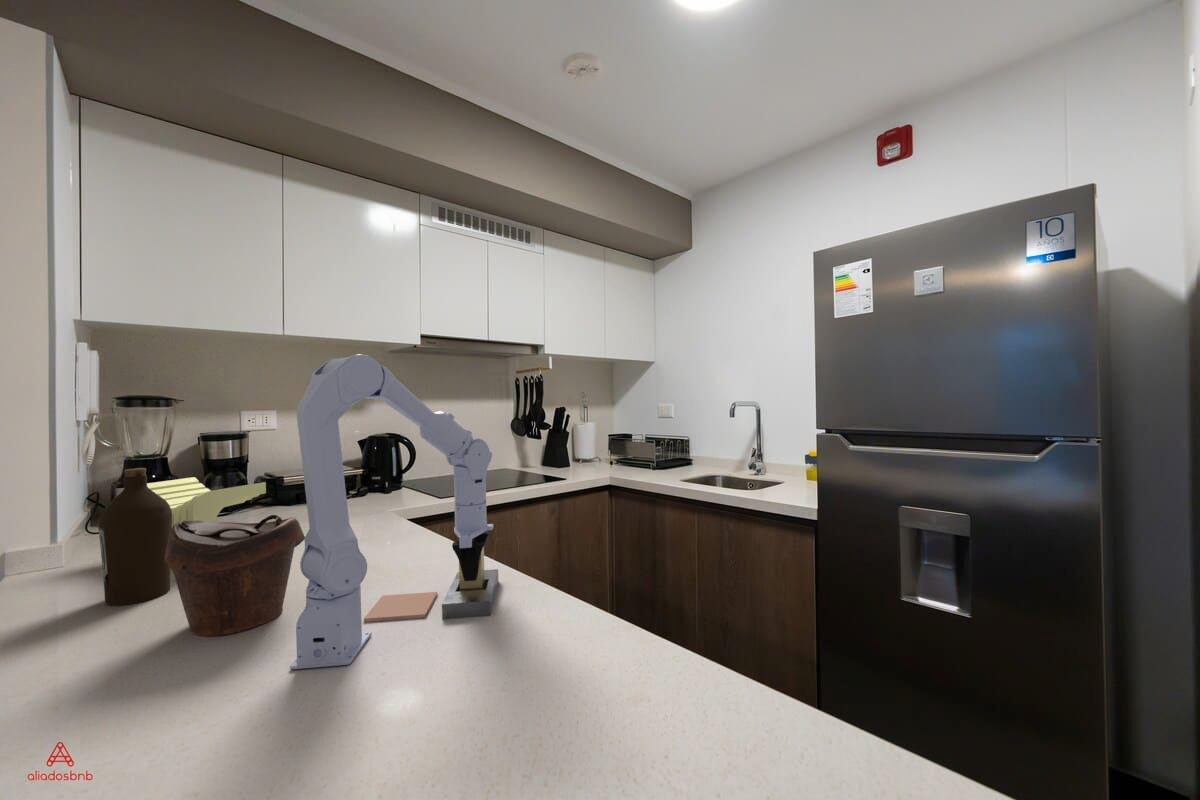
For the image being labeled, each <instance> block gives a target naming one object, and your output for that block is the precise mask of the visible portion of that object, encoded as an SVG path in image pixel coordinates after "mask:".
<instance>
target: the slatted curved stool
mask: <svg viewBox="0 0 1200 800" xmlns="http://www.w3.org/2000/svg"><path fill="white" fill-rule="evenodd" d="M266 485H267V483H266V481H264V482H263V481H262V482H258V483H251V484H245V485H238V486H232V487H231V486H230V487H226V488H221V489H220V488H219V489H214V490H211V489H209V487H206V486H205V485H204V484H203V483H201V482H200V481H199V479H197V478H196V477H194V476H193V477H185V478H177V479H172V480H171V479H170V480H163V481H156V482H147V487H148V488H149V489H150V490H152V491H153V492H155V493H156V494H157V495H159V496H160V497H162V498H163V499H164V500H166V501H167V502H168V504H169V506H170V508H171V511H172V527H173V526H174V525H175V524H176V523H177V522H180V521H185V520H196V521H209V522H217V517H218V516H219V514H220V512H222V510H223V509H224V508H226V507H230V506H234V505H238V504H243V503H246V501H249V500H252V499H253V498H257V497H259V496H260V495H264V494H267V486H266Z"/></svg>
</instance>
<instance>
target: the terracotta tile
mask: <svg viewBox="0 0 1200 800" xmlns="http://www.w3.org/2000/svg"><path fill="white" fill-rule="evenodd" d="M437 597H438V591H429V592H428V591H427V592H418V593H417V592H416V593H415V592H414V593H401V594H400V593H399V594H387V595H386V594H385V595H383V594H382V595H381V596H380V598H379V599H378V600H377V602H376V603H375V604H374V605H373V607H372V608H371V609H370V610H369V612H367V614H366V615H365V616H364V618H363V623H370V622H382V621H383V622H386V621H397V620H398V621H400V620H412V619H413V620H414V619H425V618H426V617H427V616H428V614H429V611H430V610H431V608H432V606H433V604H434V602H435V601H436V599H437Z"/></svg>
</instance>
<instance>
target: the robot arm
mask: <svg viewBox="0 0 1200 800" xmlns="http://www.w3.org/2000/svg"><path fill="white" fill-rule="evenodd" d="M364 399H369V400H376V401H381V402H384V403H385V404H386V405H388V406H389V407H390V408H393V410H395V411H397V412H398V413H399V414H401V415H402V416H404V417H405V418H406V419H408V420H410V421H411V422H412V423H414V424H415V425H416V426H418V427H419V434H420V437H421V438H422V439H423V440H424V441H426V442H427V443H428V444H430V445H431V446H432V447H434V448H435V449H436V450H438V451H439V452H441V454H443V455H444V456H445V457H446V461H447V463H448V464H449V465H450V466H453V489H454V490H453V491H454V493H453V494H454V499H453V500H454V527H453V531H454V532H453V533H454V534H455V535H456V536H457V538H458V541H453V543H452V546H451V547H452V550H453V552H454V553H455V555H456V557H457V559H458V563H459V562H460V566H461V570H462V574H463V578H464V581H476V579H477V575H478V568H479V560H480V555H481V552H482V549H483V547H484V548H485V544H486V540H487V539H488V536H489V534H490V531H492V530H493V529H494V524H493V523H488V518H487V517H488V516H487V513H488V512H487V480H486V479H487V478H486V477H487V476H488V467H489V465H490V463H491V462H492V458H493V452H491V451H490V448H489V446H488V444H487V442H486V441H484V440H483V439H481V438H474V436H473V435H472V434H473V432H472V431H471V430H470V429H465V428H463V426H461V424H459V423H458V422H456V421H455V420H454V419H455V415H453V414H452V413H451V412H446V413H445V412H444V411H436V412H434V411H432V410H431V408H430V407H428V406H427V405H426V404H425V403H424V402H422V400H420V398H418V397H417V396H416V395H415V394H414V393H413V392H411V390H410V389H408V388H407V387H406V386H405V385H404V384H403V383H402V382H401V381H399V380H398V379H397V378H396V377H395V375H394V374H393V373H392V371H391V370H390V369H389V368H388V367H386V366H383V365H380V363H379V362H378V361H377V360H376V359H375V358H373V357H372V356H370V355H367V354H354V355H351V356H349V357H342V358H339V357H338V358H337V357H336V358H331V359H329V360H327V361H326V362H324V363H323V364H321V365H320V366H319V367H318V368H317V369H316V370H314V371H313V372H312V373H311V379H310V382H309V384H308V386H307V388H306V390H305V391H304V394H303V395H302V398H301V399H300V401H299V403H298V405H297V407H296V421H297V430H298V436H299V437H298V439H299V446H300V447H299V448H300V455H301V465H302V472H303V482H304V491H305V499H306V508H307V515H308V527H309V529H308V530H307V533H306V534H305V535H304V536H305V538H304V540H303V541H304V551H303V554H302V556H301V559H300V563H299V564H300V571H301V573H302V575H303V576H304V577H305V578H306V579H308V583H307V586H306V590H305V595H306V596H305V601H306V603H305V607H304V610H303V611H302V612H301V613H300V615H299V616H298V619H297V620H296V621H297V622H296V626H295V634H296V635H295V637H296V638H295V639H296V659H295V660H294V661H292V662H291V664H290V666H289V669H290V670H301V669H310V668H314V669H315V668H323V667H324V668H325V667H336V666H346V665H350V664H351V663H352V662H353V661H354V659H355V657H357V655H358V654H359V652H360V651H361V650H362V648H363V647H364V645H365V644H366V642H368V640H369V638H370V637H371V636H372V631H370V630H368V631H366V630H365V631H363V628H362V627H363V625H362V621H363V620H362V591H361V589H362V588H361V587H362V586H361V584H362V583H363V581H364V580H365V577H366V575H367V572H368V562H367V559H366V557H365V556H364V553H362V552H361V550H360V547H359V541H358V537H357V535H356V534H355V531H354V530H353V528H352V526H351V524H350V516H349V508H348V500H347V499H348V497H347V490H346V482H345V481H346V479H345V471H344V463H343V462H344V461H343V454H342V443H341V436H340V435H341V434H340V425H339V420H340V418H342V417H343V416H344V415H345V414H346V413H347V412H348V411H349V410H350V409H351V408H352V407H353V406H354V405H355V404H356V403H359V402H360V401H363V400H364Z"/></svg>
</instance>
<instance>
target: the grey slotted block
mask: <svg viewBox="0 0 1200 800" xmlns="http://www.w3.org/2000/svg"><path fill="white" fill-rule="evenodd" d="M484 575H485V590H473V591H460V585H459V571H457V572H456V575H455V577H454V579H453V581H452V582H451V585H450V587H449V589H448V591H447V593H446V595H445V597H444V599H443V601H442V604H441V617H442V618H441V619H442V620H447V619H457V618H459V619H461V618H472V617H473V618H474V617H487V616H491V615H492V610H493V608H494V603H495V599H496V594H497V590H498V585H499V579H500V578H499V569H484Z"/></svg>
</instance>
